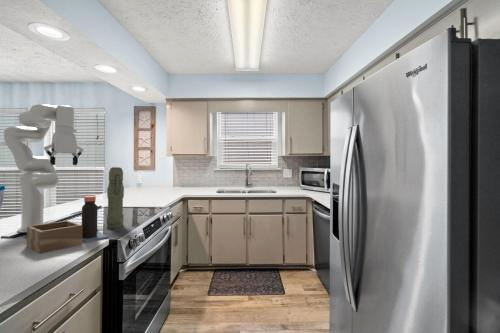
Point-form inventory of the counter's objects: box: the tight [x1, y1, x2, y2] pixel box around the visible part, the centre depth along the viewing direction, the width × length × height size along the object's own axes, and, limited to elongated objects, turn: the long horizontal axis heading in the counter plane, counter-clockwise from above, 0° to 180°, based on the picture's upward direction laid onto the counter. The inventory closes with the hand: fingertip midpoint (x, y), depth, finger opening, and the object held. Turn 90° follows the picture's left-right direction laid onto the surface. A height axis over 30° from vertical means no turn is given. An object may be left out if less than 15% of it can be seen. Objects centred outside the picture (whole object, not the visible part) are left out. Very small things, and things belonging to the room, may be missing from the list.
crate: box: [26, 220, 83, 254], centre depth 126 cm, size 15×16×9 cm
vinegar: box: [81, 195, 99, 238], centre depth 138 cm, size 7×7×20 cm
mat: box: [82, 232, 109, 243], centre depth 139 cm, size 12×10×1 cm
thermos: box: [106, 166, 125, 230], centre depth 163 cm, size 9×12×35 cm
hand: (64, 164), depth 139 cm, fingers open, 9 cm apart
